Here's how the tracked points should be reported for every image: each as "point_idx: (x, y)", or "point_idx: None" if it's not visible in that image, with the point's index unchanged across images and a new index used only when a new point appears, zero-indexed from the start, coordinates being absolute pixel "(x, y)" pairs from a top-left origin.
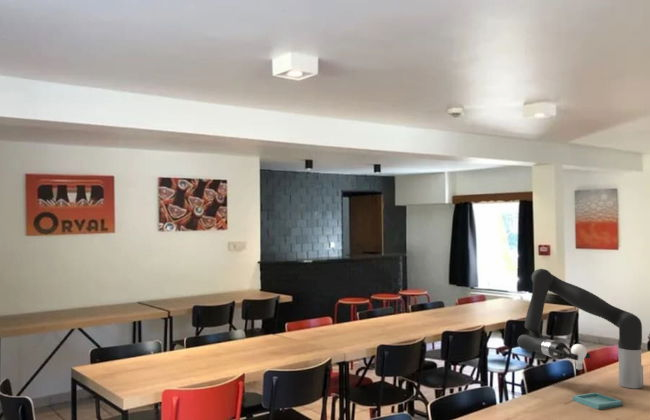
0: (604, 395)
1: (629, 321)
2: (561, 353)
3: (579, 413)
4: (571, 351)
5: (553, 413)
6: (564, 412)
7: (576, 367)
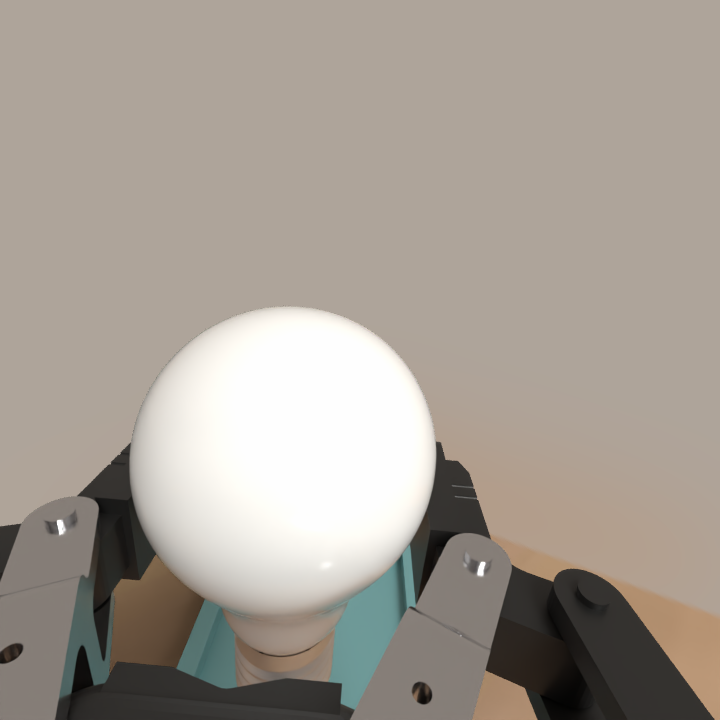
0: (195, 639)
1: None
2: (654, 663)
3: (551, 567)
4: (429, 495)
5: (714, 627)
6: (635, 611)
7: (327, 668)
